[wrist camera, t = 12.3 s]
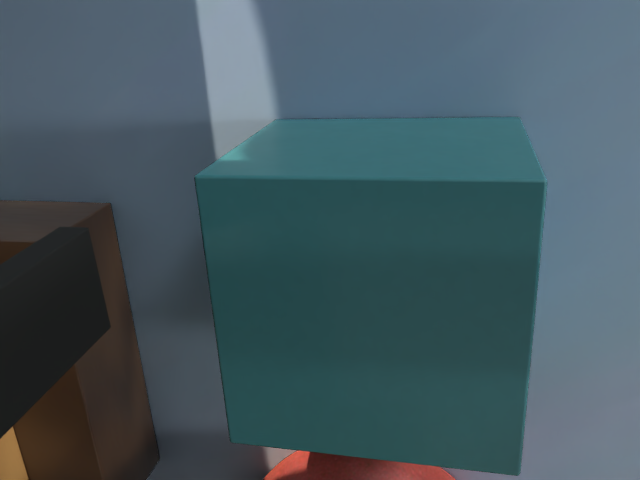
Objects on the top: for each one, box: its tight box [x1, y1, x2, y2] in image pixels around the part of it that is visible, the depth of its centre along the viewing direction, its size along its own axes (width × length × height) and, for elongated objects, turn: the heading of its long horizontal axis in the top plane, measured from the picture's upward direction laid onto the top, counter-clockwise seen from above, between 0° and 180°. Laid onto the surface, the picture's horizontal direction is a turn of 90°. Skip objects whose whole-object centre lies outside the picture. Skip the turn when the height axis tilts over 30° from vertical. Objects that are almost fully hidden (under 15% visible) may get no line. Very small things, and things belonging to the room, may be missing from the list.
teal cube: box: [194, 117, 547, 476], centre depth 16 cm, size 7×7×6 cm
